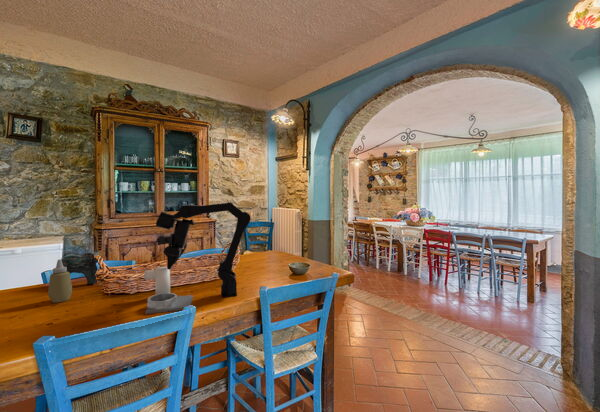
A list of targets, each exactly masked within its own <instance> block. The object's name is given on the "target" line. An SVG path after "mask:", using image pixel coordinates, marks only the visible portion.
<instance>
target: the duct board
mask: <svg viewBox="0 0 600 412" xmlns="http://www.w3.org/2000/svg"><path fill="white" fill-rule="evenodd" d="M193 298H194V296H193V294H189V295H178V294H176V293H174V292H170V293H160V294H156V293H155V294H153V295H151V296H149V297H148V298H147V300H146V303H147V307H146V310H145V314H146V315H147V314H157V313H168V311H169V312H176V311H177V312H179V311H184V310H183V308H184V307H185V306H188V305H192V303H193Z"/></svg>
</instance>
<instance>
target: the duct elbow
mask: <svg viewBox="0 0 600 412" xmlns="http://www.w3.org/2000/svg"><path fill="white" fill-rule="evenodd" d="M143 277H144V278H143V279H144V280H146V281H147V280H155V285H154V286H155V295H156V294H160V293H171V268H170V269H167V266H159V267H156V268H155V269H145V270H144V275H143Z"/></svg>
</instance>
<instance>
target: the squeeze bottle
mask: <svg viewBox="0 0 600 412" xmlns="http://www.w3.org/2000/svg"><path fill="white" fill-rule="evenodd" d="M61 259H62V258H59V259H57V261H56V266H55V267H53V268H52V273H51V274H50V275H49V282H48V293H47V295H48V298H49V299H50V301H51V303H62V302H66V301H69V300H70V298H71V297H72V296H71V295H72V292H73V285H72V280H71V274H70V273H69V272H67V267H64V266H63V263H62V260H61Z"/></svg>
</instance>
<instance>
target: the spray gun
mask: <svg viewBox="0 0 600 412" xmlns="http://www.w3.org/2000/svg"><path fill="white" fill-rule="evenodd" d="M82 247H83V248H84V249H85V251H84V253H83V254H81V253H76V252H67V253H65V254H63V255H62V257H61V258H60V259H61V260H62V263H63V266H64V267H67V272H69V273H70V275H71V274H73V273H75V274H82V275H84V277H85V278H86V285H87V284H95V283H97V280H96V276H95V273H96V271H97V270H98V266H97V264H98V263H99V262H98V260H97V259H95V258H94V255H100V256H101V257H102V255H101V253H100V252H99V250H98V249H95V250H93V251H89V250H87V248H86V246H84V245H80V246H79V247H78V249H80V248H82ZM72 254H73V255H72ZM97 284H98V283H97ZM95 285H96V284H95Z"/></svg>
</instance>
